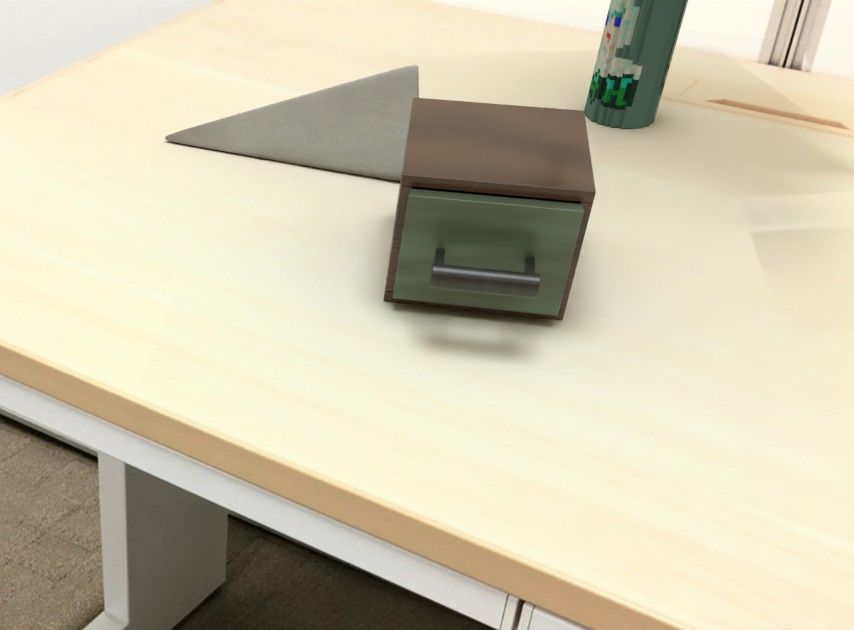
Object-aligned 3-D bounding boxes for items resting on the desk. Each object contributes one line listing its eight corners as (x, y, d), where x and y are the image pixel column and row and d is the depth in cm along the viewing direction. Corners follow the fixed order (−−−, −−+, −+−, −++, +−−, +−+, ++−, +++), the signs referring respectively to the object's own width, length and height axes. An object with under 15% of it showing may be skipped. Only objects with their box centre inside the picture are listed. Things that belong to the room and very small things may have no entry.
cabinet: (562, 320, 88) (596, 191, 82) (383, 301, 90) (402, 174, 84) (555, 229, 99) (584, 110, 93) (395, 214, 101) (413, 97, 95)
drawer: (559, 347, 84) (587, 240, 79) (388, 328, 86) (405, 223, 81) (551, 231, 97) (574, 133, 92) (402, 217, 99) (417, 120, 94)
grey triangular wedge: (152, 178, 106) (423, 143, 100) (153, 99, 108) (418, 61, 103) (175, 242, 115) (424, 213, 110) (176, 168, 118) (419, 136, 112)
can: (575, 105, 119) (615, -65, 109) (636, 102, 120) (681, -67, 110) (600, 129, 114) (644, -46, 105) (663, 126, 115) (713, -48, 105)
